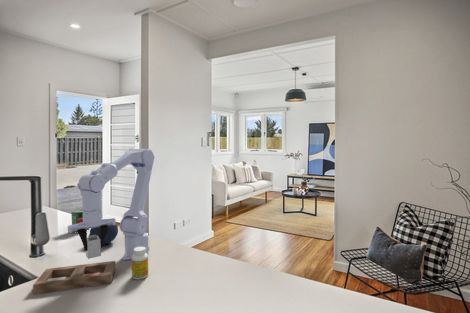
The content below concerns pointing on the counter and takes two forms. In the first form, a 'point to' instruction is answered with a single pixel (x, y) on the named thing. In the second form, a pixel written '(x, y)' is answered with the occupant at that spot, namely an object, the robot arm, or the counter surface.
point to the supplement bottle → (139, 263)
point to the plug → (93, 246)
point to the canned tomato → (77, 217)
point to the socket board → (74, 277)
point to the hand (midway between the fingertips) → (93, 248)
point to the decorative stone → (109, 235)
